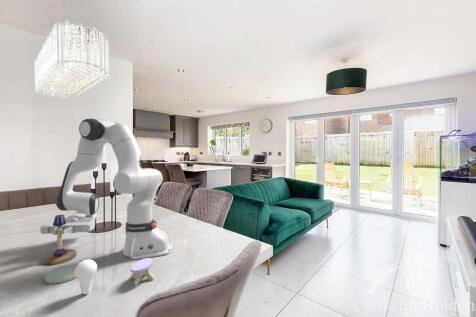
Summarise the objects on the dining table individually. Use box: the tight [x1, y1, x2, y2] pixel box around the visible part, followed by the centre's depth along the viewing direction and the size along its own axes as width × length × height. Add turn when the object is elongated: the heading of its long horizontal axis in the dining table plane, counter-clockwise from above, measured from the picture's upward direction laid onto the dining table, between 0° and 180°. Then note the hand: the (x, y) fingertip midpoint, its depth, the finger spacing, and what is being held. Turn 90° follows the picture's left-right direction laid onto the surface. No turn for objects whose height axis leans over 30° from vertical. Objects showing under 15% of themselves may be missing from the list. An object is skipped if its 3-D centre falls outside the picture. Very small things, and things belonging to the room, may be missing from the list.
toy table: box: [130, 257, 155, 286], centre depth 81 cm, size 10×9×6 cm
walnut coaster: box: [40, 249, 77, 266], centre depth 96 cm, size 12×12×1 cm
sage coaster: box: [44, 263, 79, 285], centre depth 83 cm, size 12×12×1 cm
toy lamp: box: [52, 214, 66, 256], centre depth 96 cm, size 5×5×17 cm
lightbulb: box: [75, 259, 98, 295], centre depth 72 cm, size 6×6×11 cm
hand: (58, 232), depth 95 cm, fingers closed on toy lamp
